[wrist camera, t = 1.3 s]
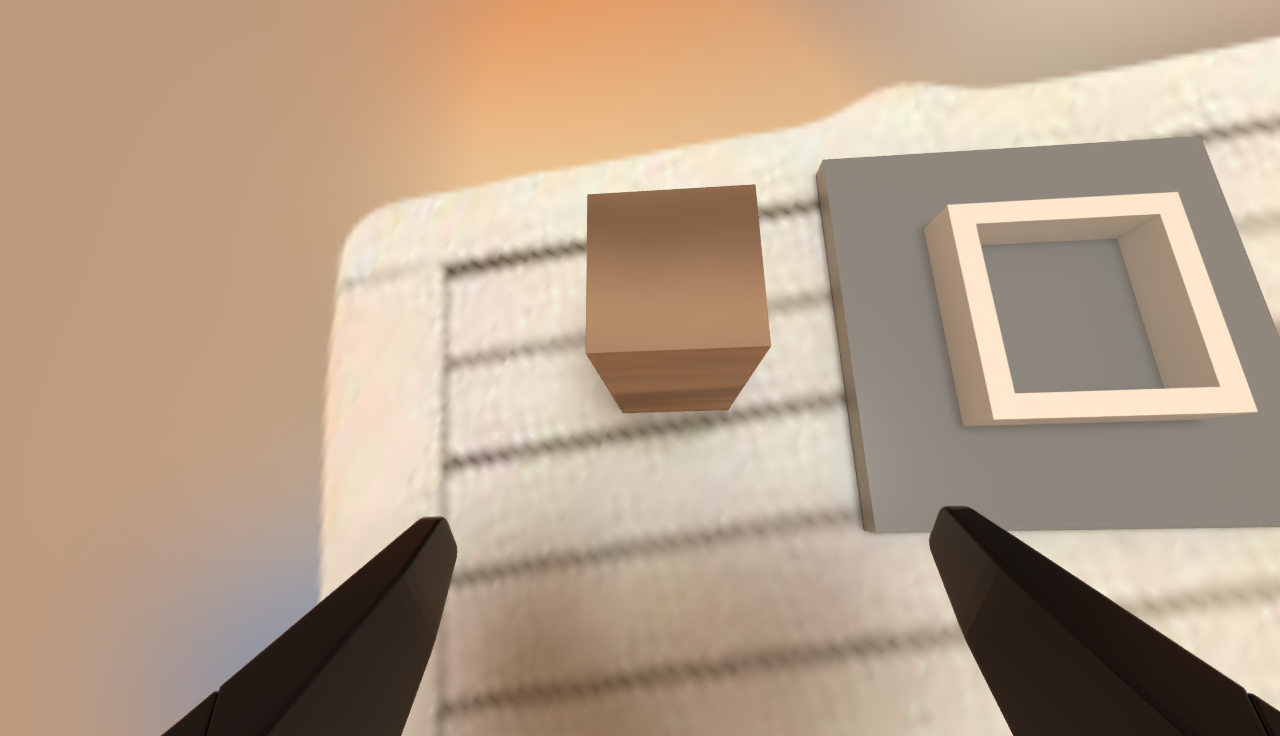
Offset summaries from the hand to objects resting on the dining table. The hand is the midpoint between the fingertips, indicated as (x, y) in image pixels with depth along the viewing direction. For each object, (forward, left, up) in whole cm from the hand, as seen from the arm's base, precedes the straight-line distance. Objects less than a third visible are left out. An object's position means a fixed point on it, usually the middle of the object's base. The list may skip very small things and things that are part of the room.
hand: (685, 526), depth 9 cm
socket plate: (+8, -17, -13) cm, 23 cm away
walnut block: (+7, 0, -13) cm, 15 cm away
